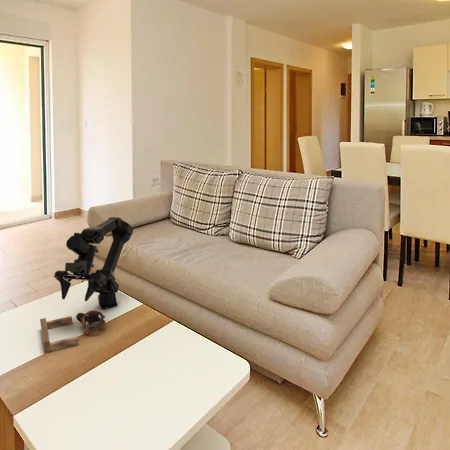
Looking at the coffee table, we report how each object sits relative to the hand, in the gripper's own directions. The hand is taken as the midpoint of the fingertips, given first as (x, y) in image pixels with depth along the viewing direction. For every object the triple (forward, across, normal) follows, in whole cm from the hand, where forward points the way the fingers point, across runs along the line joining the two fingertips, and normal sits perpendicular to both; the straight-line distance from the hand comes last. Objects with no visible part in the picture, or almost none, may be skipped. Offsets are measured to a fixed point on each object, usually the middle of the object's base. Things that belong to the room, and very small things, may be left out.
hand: (74, 300), depth 153 cm
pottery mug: (+8, +4, +10) cm, 14 cm away
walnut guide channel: (+12, -4, +5) cm, 14 cm away
